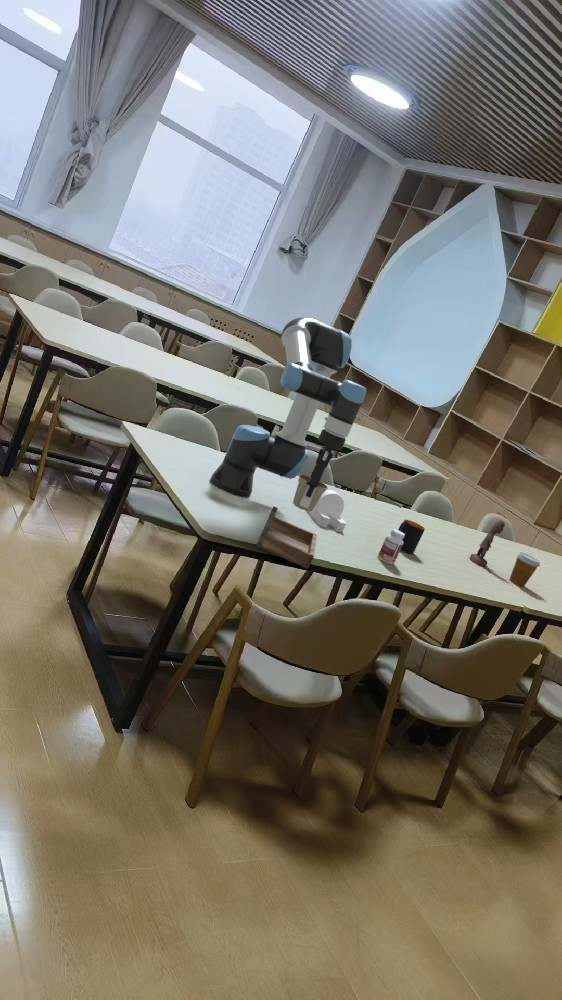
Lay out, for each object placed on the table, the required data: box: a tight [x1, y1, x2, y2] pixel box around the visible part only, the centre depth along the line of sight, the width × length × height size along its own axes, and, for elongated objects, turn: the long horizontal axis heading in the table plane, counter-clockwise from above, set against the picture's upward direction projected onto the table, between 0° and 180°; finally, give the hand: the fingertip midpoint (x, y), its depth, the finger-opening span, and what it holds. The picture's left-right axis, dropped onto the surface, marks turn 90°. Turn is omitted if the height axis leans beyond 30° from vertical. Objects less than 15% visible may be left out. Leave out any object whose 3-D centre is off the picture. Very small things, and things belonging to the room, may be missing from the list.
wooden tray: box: [255, 506, 318, 570], centre depth 227 cm, size 25×16×7 cm, turn 174°
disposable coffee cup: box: [509, 552, 541, 588], centre depth 307 cm, size 10×10×12 cm
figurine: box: [469, 519, 506, 567], centre depth 314 cm, size 9×8×20 cm
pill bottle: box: [377, 528, 405, 565], centre depth 258 cm, size 6×6×11 cm
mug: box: [397, 519, 426, 555], centre depth 286 cm, size 8×12×10 cm
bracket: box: [306, 489, 347, 534], centre depth 277 cm, size 19×10×11 cm, turn 16°
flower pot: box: [292, 474, 329, 513], centre depth 224 cm, size 9×9×9 cm
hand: (304, 502), depth 224 cm, fingers closed on flower pot, 9 cm apart
